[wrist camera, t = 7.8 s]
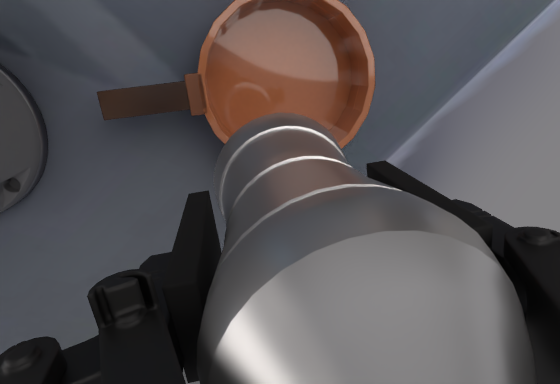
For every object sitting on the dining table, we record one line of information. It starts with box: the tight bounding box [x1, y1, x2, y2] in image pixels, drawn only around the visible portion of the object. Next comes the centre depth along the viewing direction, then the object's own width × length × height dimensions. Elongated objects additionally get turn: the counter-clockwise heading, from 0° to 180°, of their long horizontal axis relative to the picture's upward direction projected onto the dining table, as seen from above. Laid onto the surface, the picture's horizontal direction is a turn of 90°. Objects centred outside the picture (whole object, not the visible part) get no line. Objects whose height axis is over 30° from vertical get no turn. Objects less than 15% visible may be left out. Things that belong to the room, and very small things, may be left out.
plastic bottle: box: [197, 113, 537, 384], centre depth 12 cm, size 6×7×20 cm
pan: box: [197, 0, 375, 149], centre depth 33 cm, size 14×14×5 cm
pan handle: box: [97, 73, 208, 120], centre depth 31 cm, size 8×3×3 cm, turn 97°
